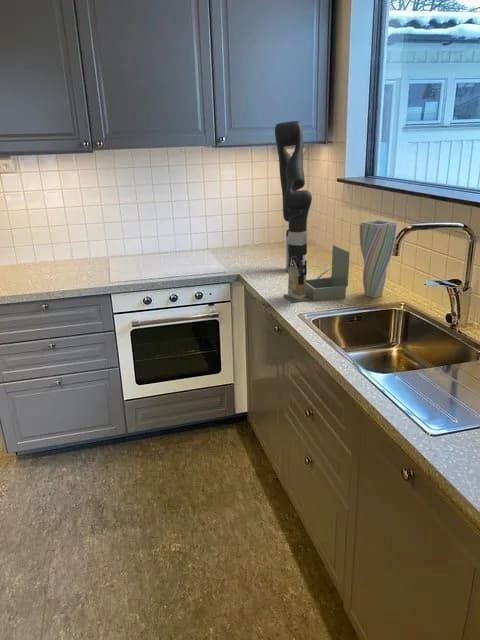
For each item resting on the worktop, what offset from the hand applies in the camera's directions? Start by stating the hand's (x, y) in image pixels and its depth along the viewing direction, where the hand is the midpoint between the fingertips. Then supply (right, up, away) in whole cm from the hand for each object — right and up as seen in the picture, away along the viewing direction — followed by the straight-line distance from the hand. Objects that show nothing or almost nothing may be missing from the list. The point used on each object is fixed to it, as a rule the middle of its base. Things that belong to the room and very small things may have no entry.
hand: (297, 281), depth 201 cm
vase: (+32, -6, +3) cm, 33 cm away
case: (+12, -5, +6) cm, 14 cm away
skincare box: (0, -6, +2) cm, 7 cm away
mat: (0, -7, +2) cm, 7 cm away
